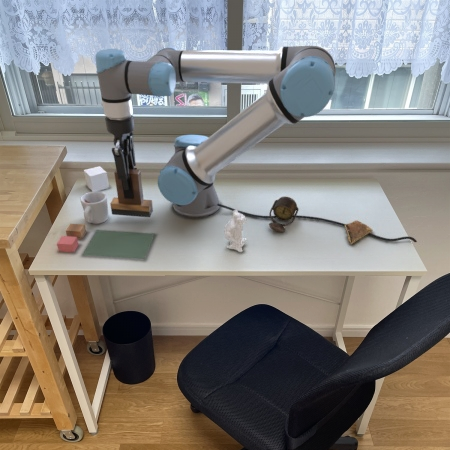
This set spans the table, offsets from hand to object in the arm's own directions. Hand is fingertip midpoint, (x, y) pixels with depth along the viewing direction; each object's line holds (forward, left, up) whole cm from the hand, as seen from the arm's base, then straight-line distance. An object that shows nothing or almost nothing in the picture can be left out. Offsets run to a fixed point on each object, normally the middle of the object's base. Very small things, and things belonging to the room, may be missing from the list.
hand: (130, 194), depth 133 cm
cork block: (+15, +10, -9) cm, 20 cm away
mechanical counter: (-46, -4, -9) cm, 47 cm away
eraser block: (+15, +17, -9) cm, 25 cm away
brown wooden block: (0, 0, -6) cm, 6 cm away
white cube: (+19, -21, -9) cm, 30 cm away
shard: (-70, +1, -9) cm, 71 cm away
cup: (+12, +2, -9) cm, 15 cm away
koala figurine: (-33, +11, -9) cm, 36 cm away
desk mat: (+1, +14, -9) cm, 16 cm away
